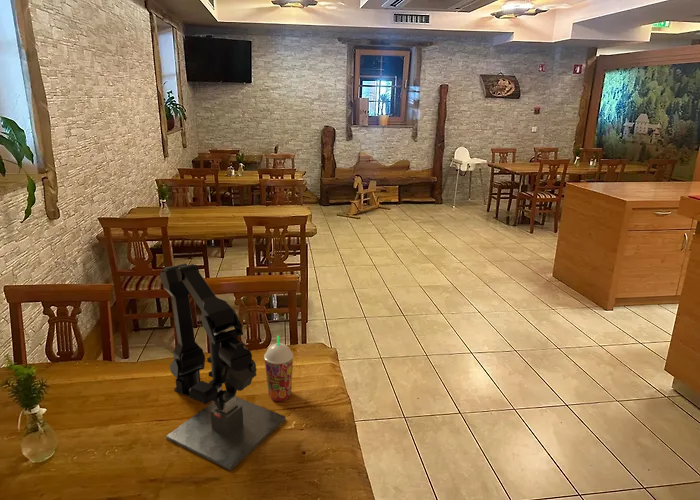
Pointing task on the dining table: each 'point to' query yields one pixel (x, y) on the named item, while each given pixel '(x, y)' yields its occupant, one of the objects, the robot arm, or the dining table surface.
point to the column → (228, 403)
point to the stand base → (226, 432)
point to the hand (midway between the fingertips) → (226, 405)
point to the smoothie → (279, 371)
